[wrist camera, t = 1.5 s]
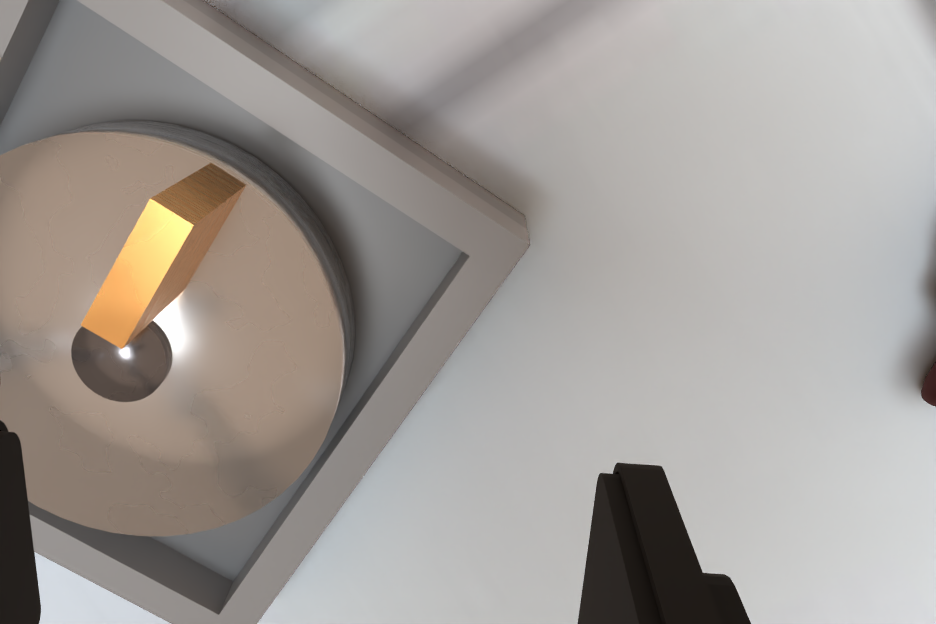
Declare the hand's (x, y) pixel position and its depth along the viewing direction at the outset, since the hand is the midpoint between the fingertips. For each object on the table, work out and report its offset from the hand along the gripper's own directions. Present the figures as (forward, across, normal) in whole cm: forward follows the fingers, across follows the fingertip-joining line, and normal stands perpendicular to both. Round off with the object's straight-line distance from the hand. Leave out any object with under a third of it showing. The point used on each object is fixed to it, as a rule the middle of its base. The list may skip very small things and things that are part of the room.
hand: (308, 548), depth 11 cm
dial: (+20, +9, +5) cm, 22 cm away
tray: (+22, +9, +5) cm, 24 cm away
